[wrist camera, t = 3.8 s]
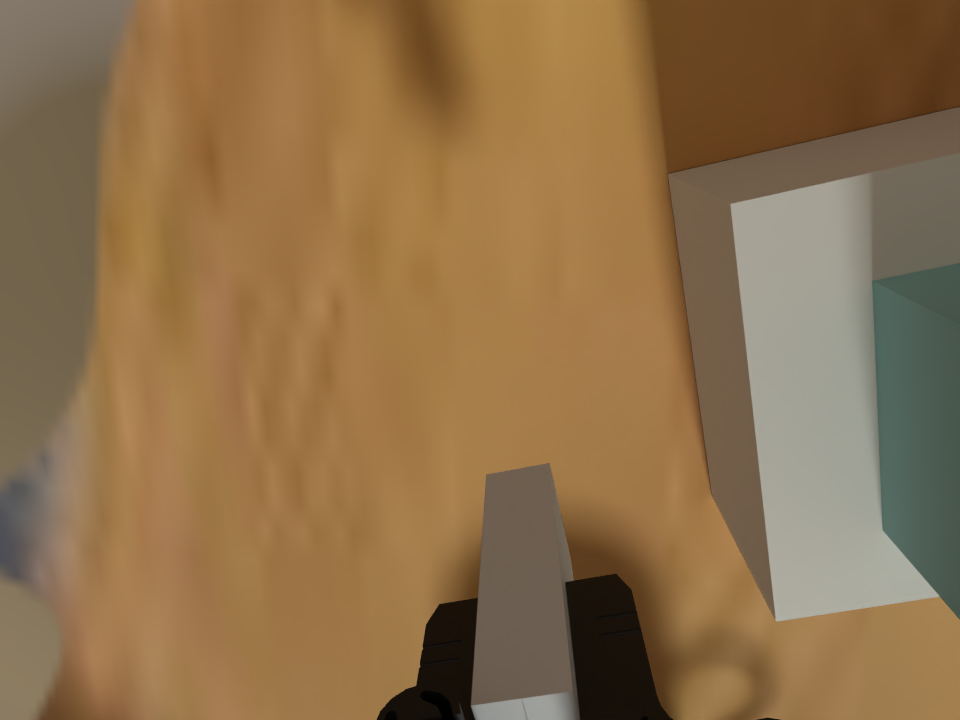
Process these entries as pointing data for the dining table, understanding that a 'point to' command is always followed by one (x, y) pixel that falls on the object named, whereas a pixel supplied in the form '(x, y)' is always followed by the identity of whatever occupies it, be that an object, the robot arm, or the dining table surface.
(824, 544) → the display stand
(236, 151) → the dining table surface
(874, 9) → the dining table surface
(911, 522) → the carton
